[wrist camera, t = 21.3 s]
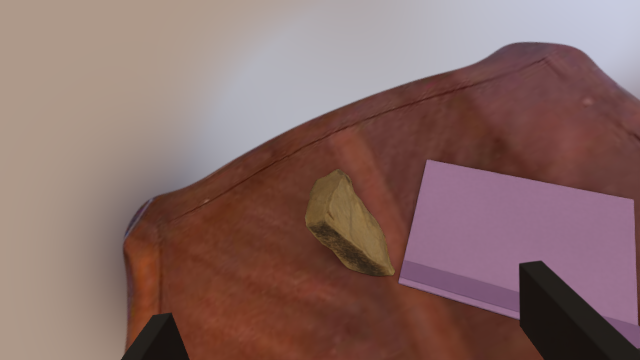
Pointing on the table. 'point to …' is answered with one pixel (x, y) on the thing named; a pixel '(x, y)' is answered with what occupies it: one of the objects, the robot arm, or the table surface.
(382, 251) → the rock
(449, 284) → the lavender flat block
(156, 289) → the table surface
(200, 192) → the table surface
